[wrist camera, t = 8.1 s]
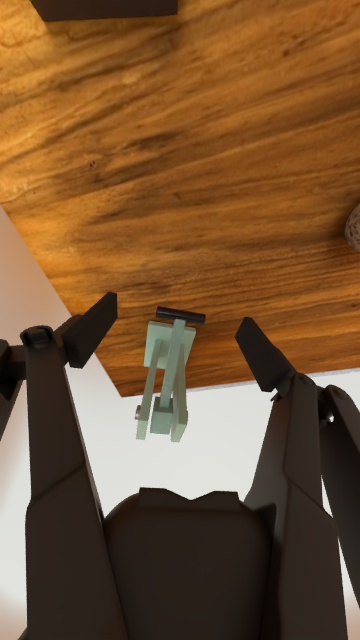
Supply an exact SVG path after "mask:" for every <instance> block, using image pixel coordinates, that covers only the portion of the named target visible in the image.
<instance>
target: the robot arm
mask: <svg viewBox="0 0 360 640" xmlns="http://www.w3.org/2000/svg"><path fill="white" fill-rule="evenodd" d="M117 318H118V315H117V293H112V292H108V293H107V294H106V295H105V296H104V297H102V298H101V299H100V300H99V301H98V302H97V303H96V304H95V305H94V306H93V307H91V308H90V309H89V310H88V311H87V312H86V313H85V314H84V315H79V314H77V315H75V316H73V317H71V318H69V319H68V320H67V321H66V322H64V323H63V324H62V326H60V327H58V329H56V330H55V331H54V332H53V329H52V328H51V327H49V326H43V325H42V326H34V327H30V328H28V329H26V330H24V331H23V332H22V333H21V334H20V338H21V340H22V342H23V344H24V345H17V346H10V345H9V344H8V342H7V341H6V340H2V339H0V441H1V438H2V435H3V433H4V430H5V428H6V425H7V422H8V420H9V417H10V414H11V411H12V409H13V406H14V404H15V401H16V398H17V396H18V393H19V390H20V387H21V385H22V382H23V380H27V404H28V427H29V451H30V472H31V473H30V474H31V500H30V503H29V505H28V507H27V511H26V521H25V537H26V585H27V586H26V587H27V628H26V629H25V630H24V632H23V633H22V635H21V636H20V637H19V639H18V640H348V635H347V625H346V615H345V605H344V595H343V585H342V574H341V564H340V554H339V544H338V538H339V542H340V546H341V549H342V553H343V557H344V560H345V564H346V568H347V571H348V574H349V578H350V581H351V584H352V587H353V591H354V594H355V597H356V600H357V602H358V605H359V608H360V412H359V410H358V408H357V407H356V405H355V404H354V402H353V400H352V399H351V397H350V396H349V395H348V394H347V393H346V392H345V391H344V390H342V389H341V388H339V387H337V386H334V385H328V386H327V387H326V388H322V387H320V386H317V385H316V384H315V383H314V381H313V380H312V379H311V378H309V377H308V376H306V375H304V374H302V373H298V372H297V371H296V370H295V368H294V367H293V366H292V365H291V363H290V362H289V361H288V360H287V359H286V357H285V356H284V355H283V354H282V352H281V351H280V350H279V349H278V348H276V347H275V346H273V344H272V343H271V342H270V340H269V339H268V338H267V337H266V335H265V334H264V333H263V332H262V330H261V329H260V328H259V327H258V325H257V324H256V323H255V322H254V320H253V319H252V318H249V317H244V319H243V321H242V323H241V325H240V327H239V329H238V331H237V333H236V335H235V339H236V341H237V343H238V345H239V347H240V349H241V351H242V353H243V355H244V357H245V359H246V361H247V363H248V365H249V367H250V369H251V371H252V373H253V375H254V377H255V379H256V381H257V383H258V385H259V387H260V389H261V391H264V392H272V391H273V389H274V388H276V390H277V391H278V392H277V393H276V395H275V396H274V397H273V398H272V399H271V401H273V400H274V402H273V406H272V410H271V414H270V418H269V421H268V425H267V430H266V433H265V437H264V441H263V445H262V449H261V453H260V456H259V460H258V464H257V468H256V472H255V476H254V480H253V484H252V487H251V489H250V491H249V492H248V494H247V496H246V498H245V500H244V502H242V501H240V500H239V497H238V492H229V491H213V492H211V493H208V494H206V495H203V496H201V497H198V498H196V499H193V500H189V499H187V498H185V497H182V496H180V495H178V494H176V493H174V492H172V491H169V490H167V489H164V488H144V487H141V488H140V489H139V493H136V494H134V495H131V496H129V497H128V498H126V499H124V500H123V501H122V502H120V503H119V504H118V505H117V506H116V507H115V508H114V509H113V510H112V511H111V512H110V513H109V514H108V515H107V516H106V518H104V515H103V511H102V507H101V503H100V499H99V496H98V492H97V489H96V485H95V481H94V478H93V474H92V470H91V466H90V463H89V459H88V455H87V451H86V447H85V443H84V439H83V436H82V432H81V428H80V424H79V420H78V416H77V413H76V409H75V405H74V402H73V397H72V393H71V390H70V386H69V382H68V378H67V374H66V370H65V367H64V366H65V365H66V363H67V362H68V361H69V365H70V367H73V368H81V369H82V368H83V367H84V365H85V364H86V362H87V361H88V360H89V358H90V357H91V355H92V354H93V352H94V351H95V349H96V348H97V347H98V345H99V344H100V342H101V341H102V339H103V338H104V336H105V335H106V334H107V332H108V331H109V329H110V328H111V326H112V325H113V323H114V322H115V321H116V319H117ZM331 416H333V417H334V420H333V422H331V421H330V419H329V418H330V417H331ZM321 475H322V479H323V482H324V486H325V490H326V494H327V497H328V501H329V505H330V508H331V512H332V515H333V518H332V516H330V515H329V514H328V513H327V512H326V511H325V509H324V507H323V501H322V482H321V481H322V480H321Z"/></svg>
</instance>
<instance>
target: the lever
mask: <svg viewBox="0 0 360 640" xmlns="http://www.w3.org/2000/svg"><path fill="white" fill-rule="evenodd" d="M156 318H162V319H168V320H174V324H173V330H172V335H171V341H170V346H169V352H168V357H167V363H166V368H165V374H164V379H163V385H162V390H161V395H160V397H155V402H154V408H153V413H152V420H151V427H150V433H157V434H169V433H170V428H171V423H172V418H173V398H171V393H172V388H173V383H174V378H175V373H176V368H177V363H178V358H179V353H180V347H181V342H182V337H183V332H184V327H185V322H186V323H191V324H197V325H204V323H205V319H206V316H205V314H201V313H195V312H189V311H184V310H178V309H173V308H167V307H161V306H158V307H157V311H156Z"/></svg>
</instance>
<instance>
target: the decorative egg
mask: <svg viewBox="0 0 360 640" xmlns="http://www.w3.org/2000/svg"><path fill="white" fill-rule="evenodd" d="M345 237H346V240H347V242H348V244H349V245H350V246H351V247H352V248H353V249H355V250H356V251H358V252H360V202H359V203H358V205H357V206H356V207H355V208H354V209H353V211H352V212H351V214H350V215H349V217H348V219H347V222H346V225H345Z"/></svg>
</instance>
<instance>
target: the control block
mask: <svg viewBox="0 0 360 640" xmlns="http://www.w3.org/2000/svg"><path fill="white" fill-rule="evenodd" d="M30 2H31V3H32V5H33V6H34V8H35V9H36V11H37V12H38V14H39V15H40V17H41V19H42V20H43V21H59V20H79V19H98V18H117V17H136V16H156V15H175V14H177V12H178V0H30Z"/></svg>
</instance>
